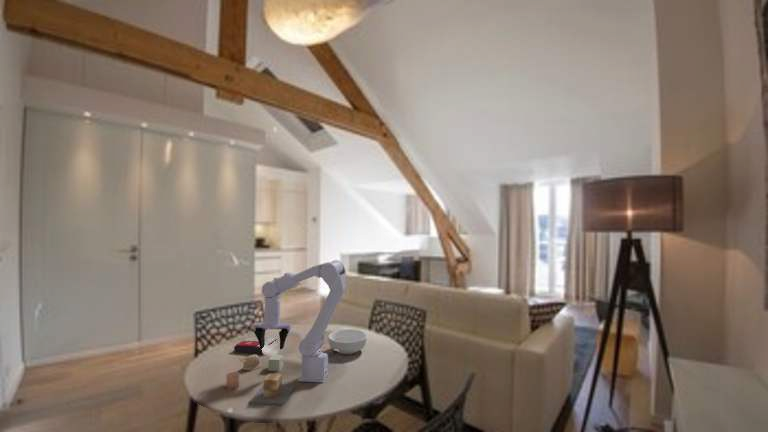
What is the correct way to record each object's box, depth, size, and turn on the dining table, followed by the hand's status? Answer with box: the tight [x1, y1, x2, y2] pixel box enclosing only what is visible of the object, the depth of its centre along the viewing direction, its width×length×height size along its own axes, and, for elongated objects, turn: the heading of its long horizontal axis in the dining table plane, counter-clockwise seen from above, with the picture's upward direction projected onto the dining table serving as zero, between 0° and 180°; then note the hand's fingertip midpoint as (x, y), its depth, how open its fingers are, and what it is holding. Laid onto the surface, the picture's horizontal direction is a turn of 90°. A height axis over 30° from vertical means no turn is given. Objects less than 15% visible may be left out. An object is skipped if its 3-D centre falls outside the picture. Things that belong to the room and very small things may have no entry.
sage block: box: [267, 354, 285, 372], centre depth 135 cm, size 4×4×4 cm
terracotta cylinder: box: [225, 371, 240, 391], centre depth 120 cm, size 4×4×4 cm
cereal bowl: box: [328, 328, 368, 355], centre depth 153 cm, size 17×17×7 cm
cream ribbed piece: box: [238, 354, 261, 371], centre depth 135 cm, size 4×8×5 cm, turn 125°
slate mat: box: [248, 385, 295, 406], centre depth 114 cm, size 11×11×1 cm
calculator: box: [233, 336, 278, 356], centre depth 154 cm, size 11×4×15 cm
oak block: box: [262, 373, 283, 397], centre depth 114 cm, size 4×4×6 cm
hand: (272, 348), depth 131 cm, fingers open, 7 cm apart
